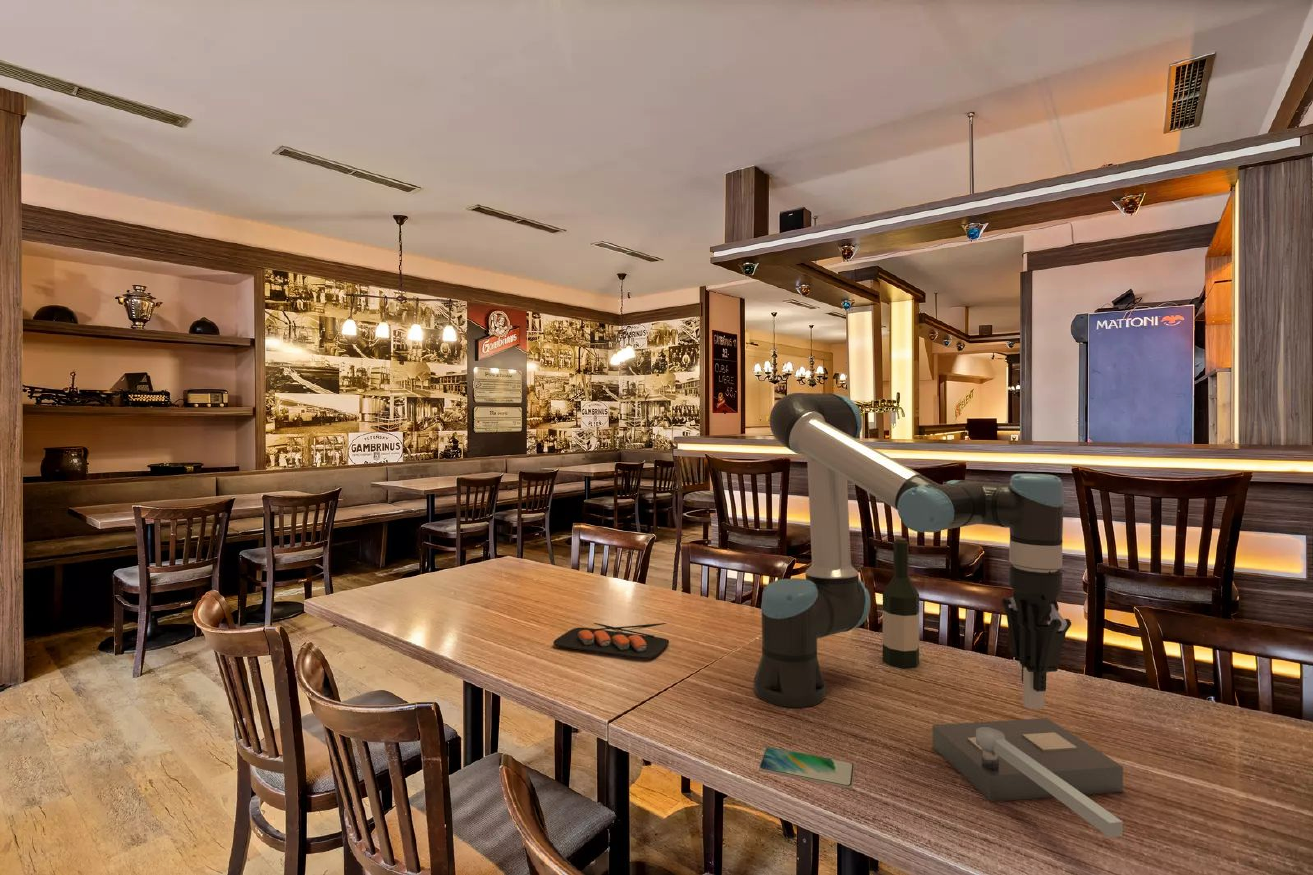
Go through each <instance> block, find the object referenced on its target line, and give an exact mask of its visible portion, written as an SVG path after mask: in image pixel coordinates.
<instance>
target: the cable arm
mask: <svg viewBox="0 0 1313 875" xmlns="http://www.w3.org/2000/svg"><path fill="white" fill-rule="evenodd" d="M976 744H977V745H978V746H980V747H981V748H983V749H986V750H989V751H994V752H995V753H996V754H998V755H999V756H1000V757H1002V758H1003V759H1004V760H1006V761H1007V762H1008V763H1010V764H1011V765H1012V766H1014V767H1015V768H1016V769H1018V770H1019V771H1020V772H1022V773H1023V774H1024V775H1026V776H1027V777H1029V778H1030V779H1031V780H1033V781H1034V782H1035V783H1037V784H1038V785H1039V786H1041V787H1042V788H1043V789H1045V790H1046V791H1047V792H1049V793H1050V794H1051V795H1053V796H1054V797H1053V798H1055V799H1057V800H1058V801H1059V802H1060V803H1062V804H1063V805H1065V806H1066V807H1068V808H1069V809H1070V810H1071V811H1073V812H1074V813H1075V814H1076V815H1078V816H1079V817H1081V818H1082V819H1083V820H1086V822H1087V823H1090V825H1092V826H1093V827H1095V828H1096V829H1097V830H1098V831H1100V832H1101V833H1103V835H1105V836H1106V837H1108V838H1109V839H1110V838H1111V839H1112V838H1117V837H1118V838H1119V837H1123V832H1124V831H1123V830H1124V829H1123V820H1122V819H1120V818H1118V817H1117V816H1116V815H1114V814H1112V813H1111V812H1109V811H1108V810H1107V809H1105V808H1104V807H1102V806H1101V805H1100V804H1098V802H1097V803H1096V802H1095V801H1094V800H1093V799H1091V798H1089V797H1088V796H1087V795H1084V794H1082V793H1081V792H1079V791H1078V790H1077V789H1075V788H1074V787H1072V786H1071V785H1069V784H1068V783H1067V782H1065V781H1064V780H1062V779H1061V778H1059V777H1058V776H1057V775H1055V774H1054V773H1052V772H1051V771H1049V770H1048V769H1047V768H1045V767H1044V766H1042V765H1041V764H1039V763H1038V762H1036V761H1035V760H1034V759H1032V758H1031V757H1029V756H1028V755H1026V754H1025V753H1024V752H1022V751H1021V750H1019V749H1018V748H1016V747H1015V746H1014V745H1012V744H1011V743H1009V742H1008V741H1006V740H1005V735H1004V734H1003V733H1002V732H1000V731H998V730H996V729H993V728H988V727H980V728H977V729H976Z"/></svg>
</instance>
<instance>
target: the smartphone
mask: <svg viewBox="0 0 1313 875" xmlns="http://www.w3.org/2000/svg"><path fill="white" fill-rule="evenodd" d="M758 769H759V771H760V772H764V773H768V774H773V775H776V776H777V775H779V776H783V777H789V778H794V779H798V780H804V781H809V782H814V783H817V784H823V785H824V784H825V785H828V786H832V787H833V786H834V787H839V788H845V789H851V788H853V786H854V776H855V764H854V763H853V762H850V761H847V760H840V759H837V758H836V759H834V758H829V757H824V756H818V755H814V754H808V753H803V752H797V751H792V750H787V749H782V748H775V747H771V746H767V747H766V748H765V750H764V753H763V755H762V758H761V761H760V764H759V766H758Z"/></svg>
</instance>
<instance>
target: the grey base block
mask: <svg viewBox="0 0 1313 875" xmlns="http://www.w3.org/2000/svg"><path fill="white" fill-rule="evenodd" d="M980 727H988V728H993V729H996V730H998V731H1000V732H1002V733H1003V734H1004V735H1005V740H1006V741H1008V742H1009V743H1011V744H1012V745H1014V746H1015V747H1016V748H1018V749H1019V750H1021V751H1022V752H1024V753H1025V754H1026V755H1028V756H1029V757H1031V758H1032V759H1034V760H1035V761H1036V762H1038V763H1039V764H1041V765H1042V766H1044V767H1045V768H1047V769H1048V770H1049V771H1051V772H1052V773H1054V774H1055V775H1057V776H1058V777H1059V778H1061V779H1062V780H1064V781H1065V782H1067V783H1068V784H1069V785H1071V786H1072V787H1074V788H1075V789H1077V790H1078V791H1079V792H1081V793H1082V794H1084V795H1085V796H1087V795H1088V796H1089V795H1101V794H1113V793H1123V790H1124V789H1123V788H1124V785H1123V784H1124V783H1123V782H1124V779H1123V778H1124V775H1123V773H1124V766H1122V764H1120V763H1118V762H1116V761H1115V760H1114V759H1112V758H1110V757H1109V756H1107V755H1105V754H1104V753H1103V752H1101V751H1099V750H1097V749H1096V748H1095V747H1094V746H1092V745H1090V744H1088V743H1087V742H1085V741H1084V740H1082V739H1081V738H1079V737H1077V736H1076V735H1074V734H1073V733H1071V732H1070V731H1068V730H1067V729H1065V728H1063V727H1061V725H1059V724H1057V723H1056V722H1054V721H1053V720H1051V719H1050V718H1047V717H1046V718H1045V717H1043V718H1027V719H1024V718H1023V719H1009V720H996V721H978V722H975V721H974V722H962V723H960V722H959V723H946V724H945V723H944V724H943V723H942V724H932V748H933V749H934V750H935V752H937V753H938V754H939V755H940V756H941V757H942V758H944V760H945V761H946V762H947V763H948V764H950V766H952V767H953V768H954V769H955V770H956V772H958V773H959V774H960V775H962V777H964V779H966V780H967V781H968V782H969V783H970V784H971V785H972V786H973V788H975V789H976V790H977V791H978V792H979V793H980V794H982V796H984V797H985V798H986V800H988V801H989V802H990V803H993V802H1004V801H1005V802H1006V801H1007V802H1008V801H1019V800H1033V799H1046V798H1055V797H1054V796H1053V795H1051V794H1050V793H1049V792H1047V791H1046V790H1045V789H1043V788H1042V787H1041V786H1039V785H1038V784H1037V783H1035V782H1034V781H1033V780H1031V779H1030V778H1029V777H1027V776H1026V775H1024V774H1023V773H1022V772H1020V771H1019V770H1018V769H1016V768H1015V767H1014V766H1012V765H1011V764H1010V763H1008V762H1007V761H1006V760H1004V759H1003V758H1002V757H1000V756H999V755H998V754H996V753H995V752H994V751H989V750H986V749H983V748H981V747H980V746H978V745H977V744H976V729H977V728H980Z"/></svg>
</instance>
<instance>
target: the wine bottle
mask: <svg viewBox="0 0 1313 875" xmlns="http://www.w3.org/2000/svg"><path fill="white" fill-rule="evenodd" d="M892 564H893V565H892V566H893V570H892V571H893V576H892V578H891V580H890V581H889V582H888V584H887V585H886V587H885V588H884V590H883V592H882V662H883V663H885V664H887V665H888V666H889V667H893V668H899V669H903V670H905V669H906V670H907V669H916V668H918V666H919V664H920V593H919V591H918V590H917V589H916V587H915V585H914V583H913V582H912V580H911V579H910V577H909V541H907V538H905V537H896V538H895V540H894V541H893V563H892Z"/></svg>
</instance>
